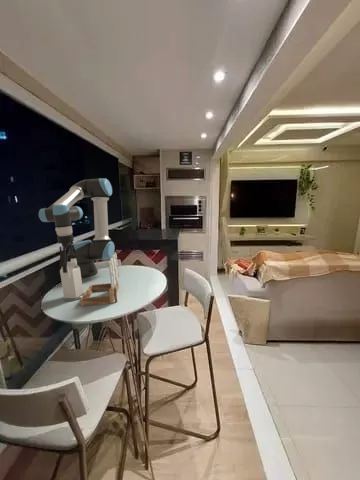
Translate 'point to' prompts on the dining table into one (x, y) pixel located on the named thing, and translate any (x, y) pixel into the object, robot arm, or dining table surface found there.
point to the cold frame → (104, 287)
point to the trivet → (73, 298)
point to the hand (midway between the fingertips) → (71, 274)
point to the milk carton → (72, 281)
